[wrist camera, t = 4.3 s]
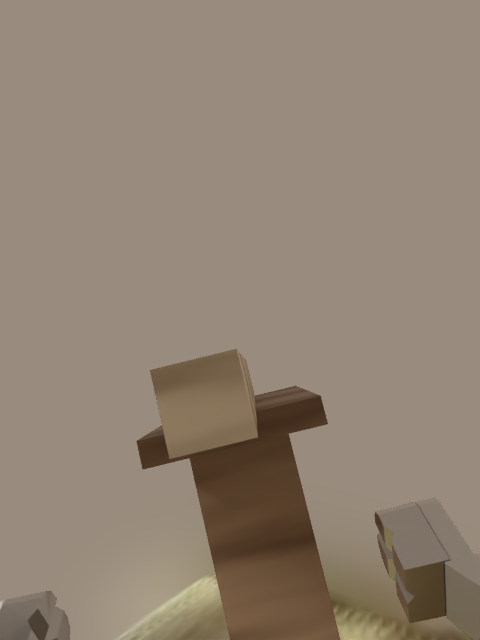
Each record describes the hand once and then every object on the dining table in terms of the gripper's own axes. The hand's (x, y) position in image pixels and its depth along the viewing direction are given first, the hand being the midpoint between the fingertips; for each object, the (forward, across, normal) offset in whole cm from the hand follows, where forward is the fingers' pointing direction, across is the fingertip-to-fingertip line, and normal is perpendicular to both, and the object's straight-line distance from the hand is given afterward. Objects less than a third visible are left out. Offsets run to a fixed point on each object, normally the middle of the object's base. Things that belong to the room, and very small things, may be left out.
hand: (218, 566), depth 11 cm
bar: (+14, 0, +5) cm, 15 cm away
